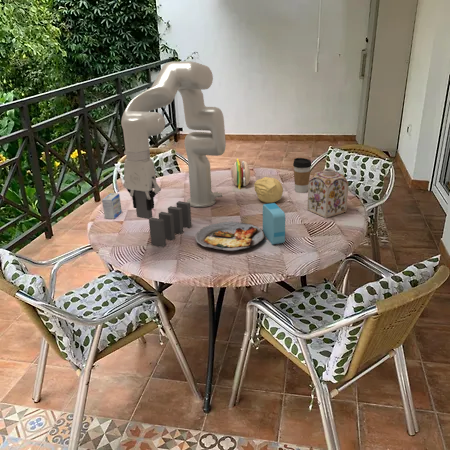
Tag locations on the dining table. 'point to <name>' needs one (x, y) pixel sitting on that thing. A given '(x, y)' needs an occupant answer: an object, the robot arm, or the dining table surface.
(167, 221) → the domino
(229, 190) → the dining table surface
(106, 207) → the medicine box
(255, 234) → the food plate
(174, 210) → the domino
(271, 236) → the light blue block
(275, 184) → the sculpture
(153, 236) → the domino
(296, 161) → the coffee cup
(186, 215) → the domino
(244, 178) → the hamburger
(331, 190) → the decorative jar
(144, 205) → the domino
